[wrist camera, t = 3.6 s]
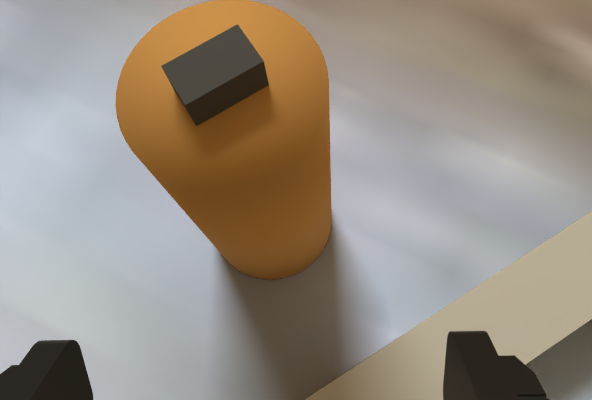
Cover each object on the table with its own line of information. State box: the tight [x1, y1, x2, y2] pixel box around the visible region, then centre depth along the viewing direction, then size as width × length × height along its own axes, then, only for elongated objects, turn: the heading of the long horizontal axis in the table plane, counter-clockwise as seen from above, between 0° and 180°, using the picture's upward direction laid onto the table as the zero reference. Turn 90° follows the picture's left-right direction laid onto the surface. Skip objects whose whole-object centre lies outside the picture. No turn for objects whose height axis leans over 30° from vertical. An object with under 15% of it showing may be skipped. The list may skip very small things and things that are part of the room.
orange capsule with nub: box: [116, 0, 331, 280], centre depth 17 cm, size 5×5×12 cm
